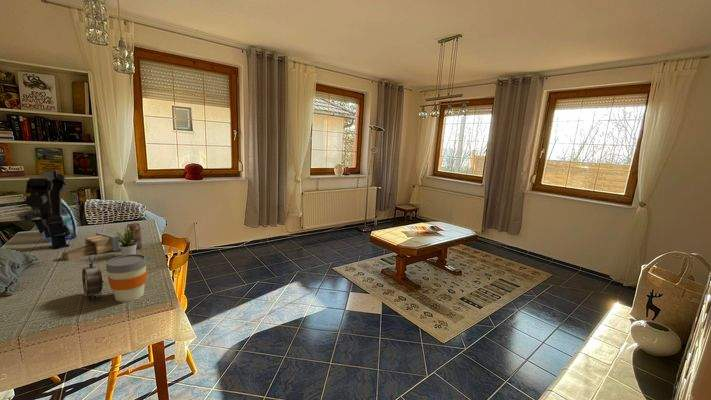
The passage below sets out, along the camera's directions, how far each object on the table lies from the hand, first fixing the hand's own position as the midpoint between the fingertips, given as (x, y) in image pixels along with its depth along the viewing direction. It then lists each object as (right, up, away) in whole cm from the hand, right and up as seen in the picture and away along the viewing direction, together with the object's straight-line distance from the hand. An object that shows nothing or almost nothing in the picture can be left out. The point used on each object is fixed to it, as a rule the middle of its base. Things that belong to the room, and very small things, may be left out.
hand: (46, 234), depth 145 cm
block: (+14, -11, +13) cm, 22 cm away
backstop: (+16, -10, +17) cm, 26 cm away
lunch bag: (-26, -6, +32) cm, 42 cm away
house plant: (+36, -13, +8) cm, 39 cm away
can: (+30, -11, +19) cm, 37 cm away
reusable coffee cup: (+65, -21, -30) cm, 74 cm away
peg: (+11, -12, +7) cm, 18 cm away
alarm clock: (+52, -21, -32) cm, 64 cm away
